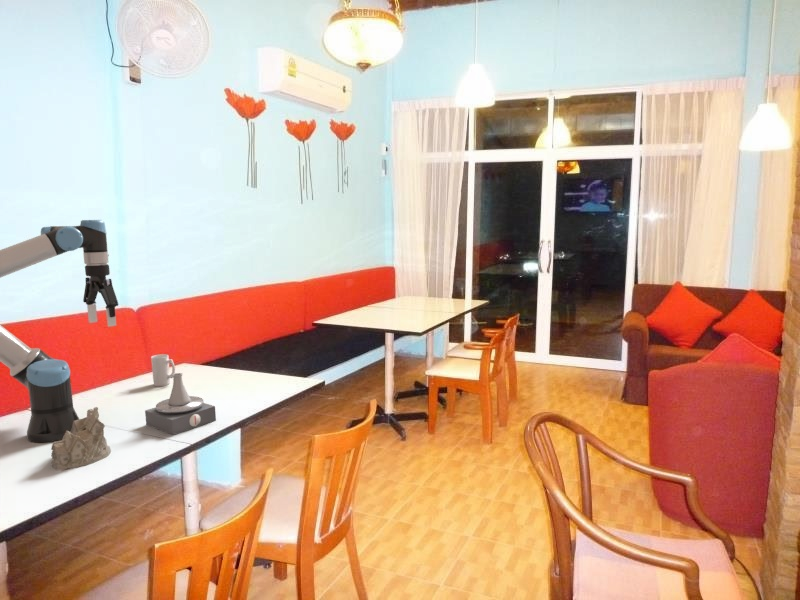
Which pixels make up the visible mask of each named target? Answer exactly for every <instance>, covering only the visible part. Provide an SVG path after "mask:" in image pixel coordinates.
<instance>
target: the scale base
mask: <svg viewBox="0 0 800 600" xmlns="http://www.w3.org/2000/svg"><path fill="white" fill-rule="evenodd" d="M144 413H145V426H149V427H151V428H154V429H157V430H159V431H161V432H164V433H167V434H170V435H172V436H174V435H177V434H180V433H184V432H185V431H189V430H192V429H195V428H198V427H200V426H203V425H206V424H209V423H212V422H215V421H217V417H216V406H215V405H212V404H209V403H205V402H204V404H203V405H202V406H201V407H200V408H197V409H195V410H192V411H188V412H182V413H161V412H158V411H157V410H156V406H155V407H152V408H149V409H145V410H144Z"/></svg>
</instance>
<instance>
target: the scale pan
mask: <svg viewBox="0 0 800 600" xmlns="http://www.w3.org/2000/svg"><path fill="white" fill-rule="evenodd" d="M189 397H190V399H191V401H190V403H187V404H185V405H178V406H172V405H168V402H169V399H170V398H167V399H164V400H161V401H159V402H157V403H156V404H155V407H156V410H157V411H158V412H161V413H182V412H188V411H192V410H195V409H197V408H200V407H201V406H202V405H203V404H204V403H205V402H204V398H202V397H200V396H192V395H189Z"/></svg>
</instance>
